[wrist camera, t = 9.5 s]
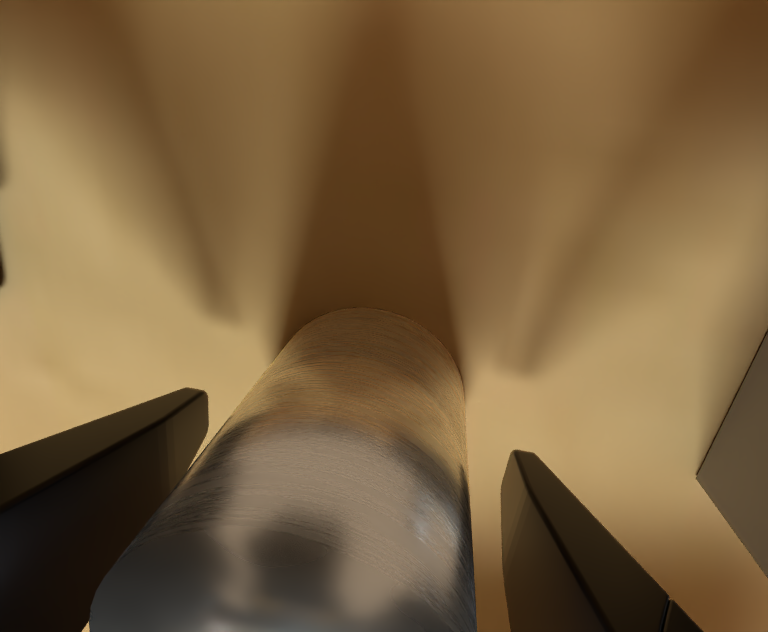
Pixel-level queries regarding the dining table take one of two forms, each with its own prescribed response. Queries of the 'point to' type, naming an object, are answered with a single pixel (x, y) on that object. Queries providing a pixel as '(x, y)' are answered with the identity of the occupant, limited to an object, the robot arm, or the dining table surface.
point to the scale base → (743, 462)
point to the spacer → (317, 499)
